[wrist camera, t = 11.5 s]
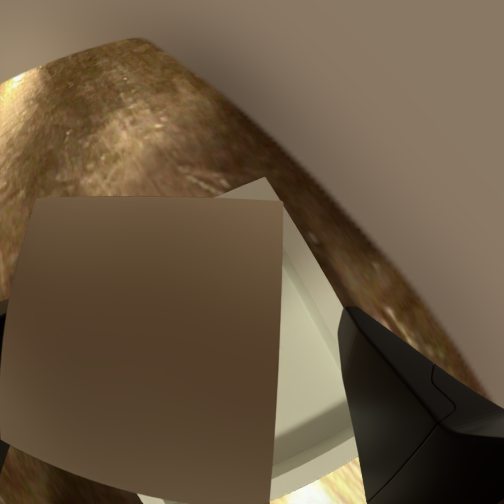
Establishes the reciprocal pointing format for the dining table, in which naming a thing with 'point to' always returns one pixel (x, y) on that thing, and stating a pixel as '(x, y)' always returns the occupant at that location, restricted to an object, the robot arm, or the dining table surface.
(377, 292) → the dining table surface
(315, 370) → the tray
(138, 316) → the birch block
